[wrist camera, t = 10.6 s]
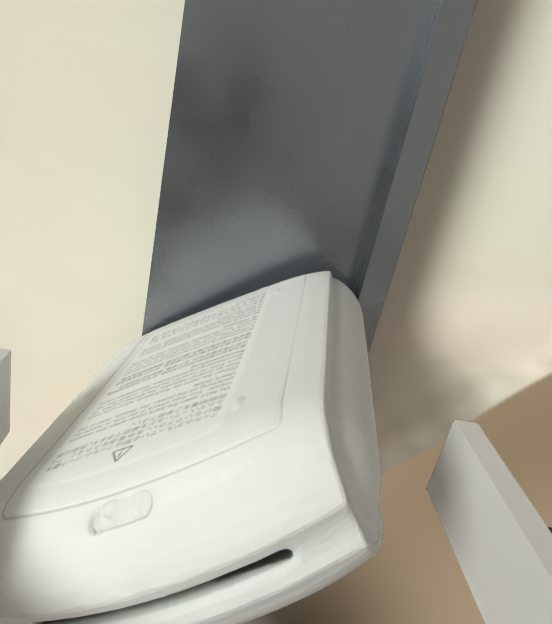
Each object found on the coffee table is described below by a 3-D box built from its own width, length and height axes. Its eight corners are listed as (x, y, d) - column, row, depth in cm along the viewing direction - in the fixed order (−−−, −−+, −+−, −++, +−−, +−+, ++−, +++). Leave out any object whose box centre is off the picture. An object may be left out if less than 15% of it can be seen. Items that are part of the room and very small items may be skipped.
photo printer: (154, 426, 23) (-22, 738, 12) (105, 342, 22) (-145, 598, 10) (379, 349, 21) (437, 644, 9) (339, 250, 20) (350, 449, 8)
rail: (270, -599, 13) (282, -1015, 8) (589, -473, 15) (770, -775, 10) (133, 434, 25) (104, 520, 20) (316, 460, 26) (332, 548, 21)
